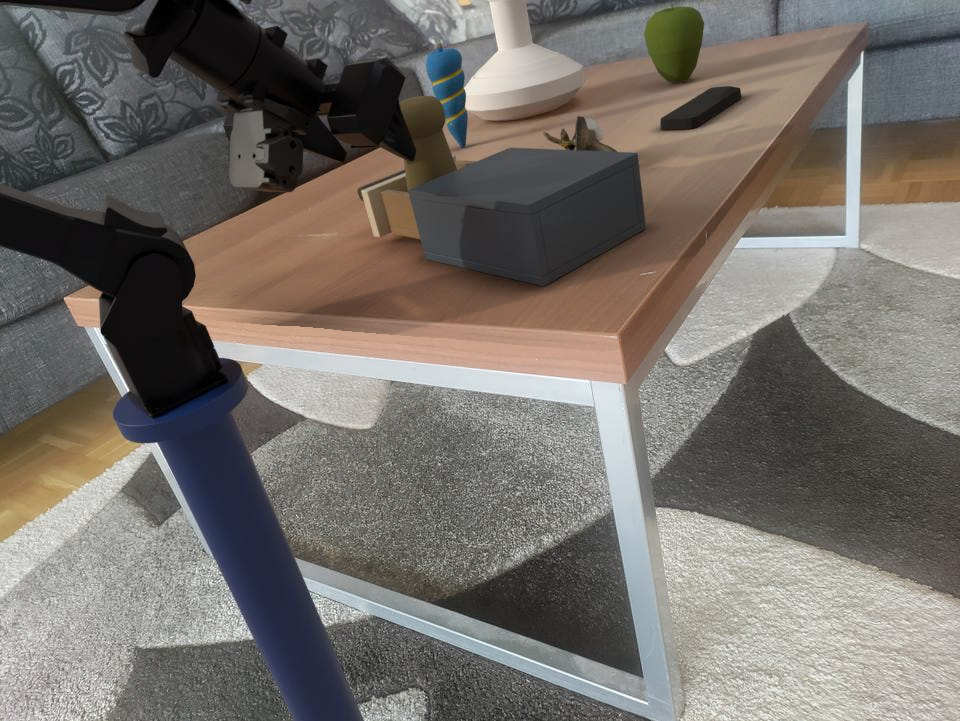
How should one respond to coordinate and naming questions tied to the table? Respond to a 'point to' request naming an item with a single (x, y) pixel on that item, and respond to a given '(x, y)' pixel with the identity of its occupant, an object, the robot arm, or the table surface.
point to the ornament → (449, 89)
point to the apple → (675, 41)
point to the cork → (426, 140)
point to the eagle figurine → (582, 137)
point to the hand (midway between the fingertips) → (377, 157)
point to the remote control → (700, 108)
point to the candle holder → (520, 71)
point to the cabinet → (530, 211)
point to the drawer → (393, 204)
